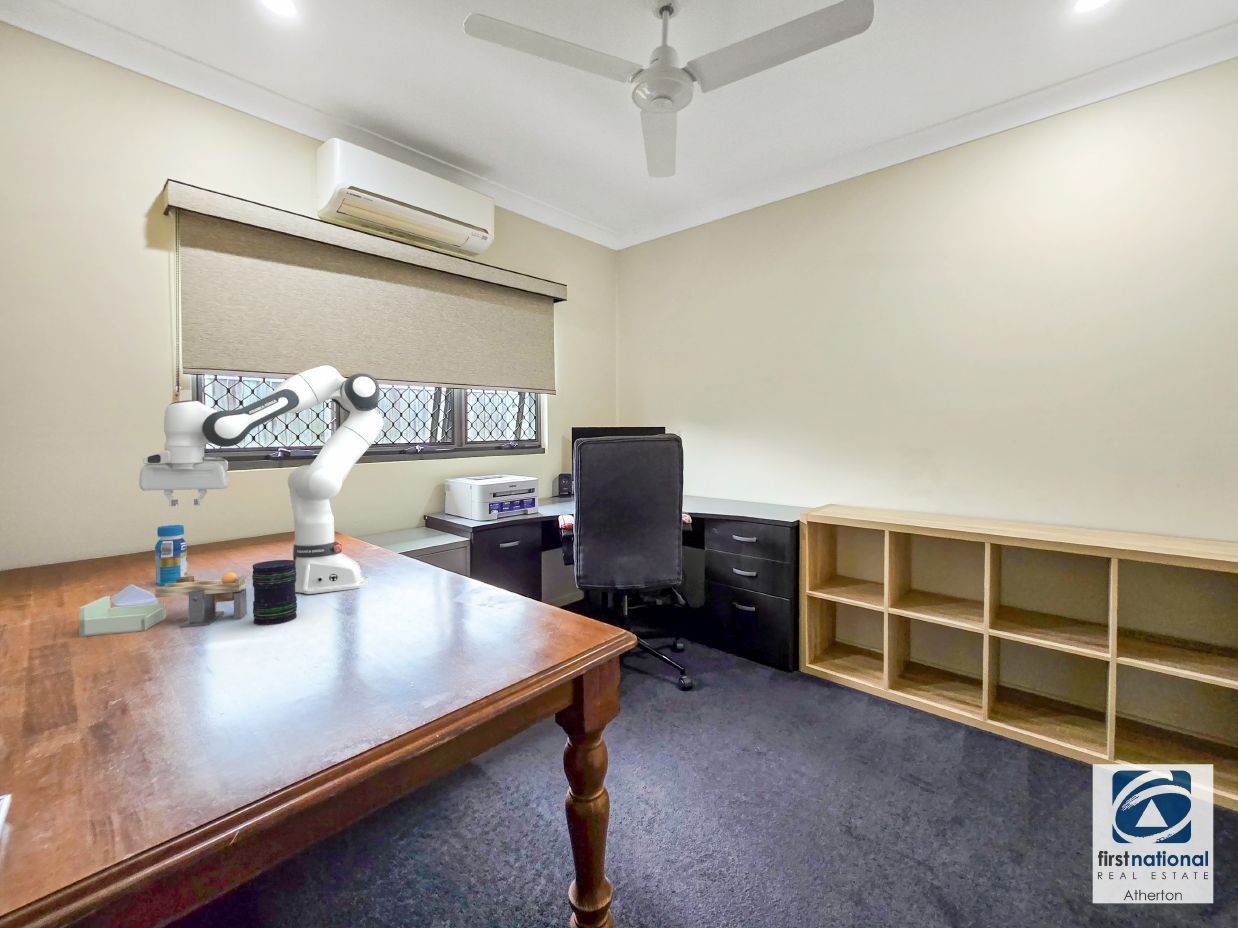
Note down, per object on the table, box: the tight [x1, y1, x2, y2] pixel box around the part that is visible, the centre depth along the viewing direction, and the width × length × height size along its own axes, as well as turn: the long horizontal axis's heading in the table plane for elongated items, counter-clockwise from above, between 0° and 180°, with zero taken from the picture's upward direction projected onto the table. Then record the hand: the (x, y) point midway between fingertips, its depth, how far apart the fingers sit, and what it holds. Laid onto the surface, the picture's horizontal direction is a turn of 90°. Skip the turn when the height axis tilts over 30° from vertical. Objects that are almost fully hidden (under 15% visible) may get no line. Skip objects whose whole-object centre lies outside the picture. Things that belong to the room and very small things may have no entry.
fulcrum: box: [179, 587, 248, 629], centre depth 143 cm, size 12×11×9 cm
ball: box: [221, 572, 239, 584], centre depth 144 cm, size 4×4×4 cm
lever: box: [154, 573, 247, 603], centre depth 146 cm, size 18×15×6 cm
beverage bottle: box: [154, 524, 189, 587], centre depth 178 cm, size 8×8×20 cm
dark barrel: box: [251, 559, 298, 626], centre depth 142 cm, size 10×10×15 cm
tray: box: [78, 595, 167, 638], centre depth 137 cm, size 13×11×7 cm
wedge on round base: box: [110, 583, 159, 607], centre depth 150 cm, size 9×7×13 cm
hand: (186, 505), depth 154 cm, fingers open, 4 cm apart
